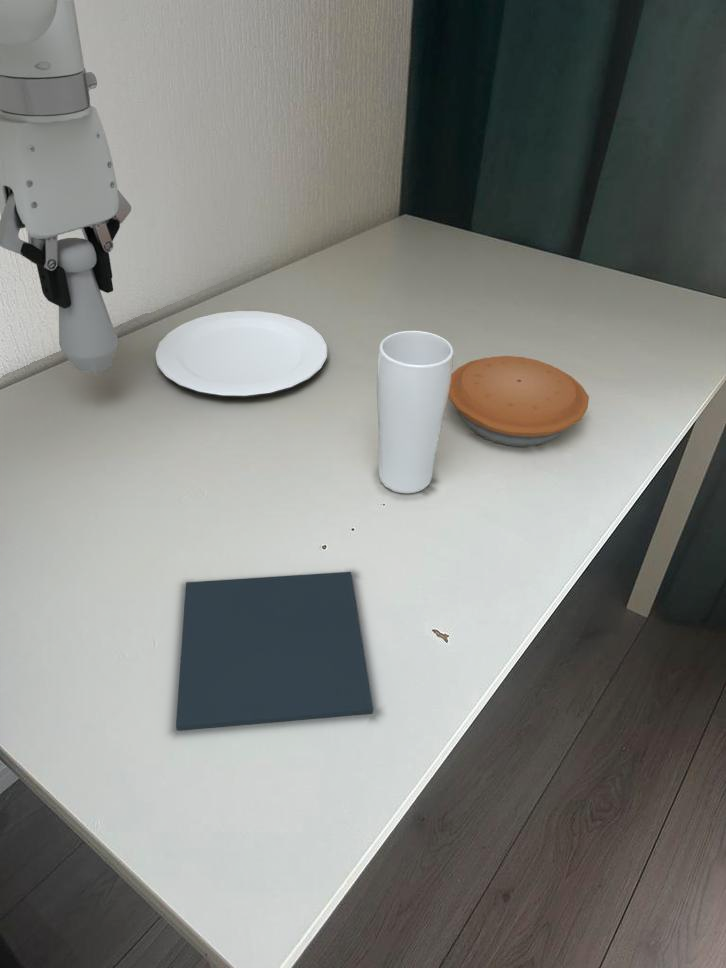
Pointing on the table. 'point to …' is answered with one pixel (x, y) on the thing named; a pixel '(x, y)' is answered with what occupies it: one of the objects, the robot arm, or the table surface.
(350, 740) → the table surface
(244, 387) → the plate
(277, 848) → the table surface
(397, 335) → the drinking glass
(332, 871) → the table surface
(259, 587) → the mat
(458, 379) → the pie
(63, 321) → the salt shaker
